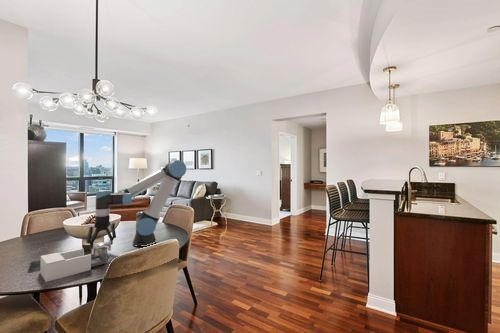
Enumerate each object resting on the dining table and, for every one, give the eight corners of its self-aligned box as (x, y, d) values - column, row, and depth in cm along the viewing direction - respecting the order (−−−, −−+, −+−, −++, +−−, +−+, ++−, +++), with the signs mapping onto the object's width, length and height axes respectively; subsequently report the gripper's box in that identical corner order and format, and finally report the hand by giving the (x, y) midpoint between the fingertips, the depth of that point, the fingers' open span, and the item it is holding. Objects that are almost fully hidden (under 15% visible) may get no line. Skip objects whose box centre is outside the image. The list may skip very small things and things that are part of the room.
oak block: (104, 252, 146) (104, 244, 146) (107, 254, 143) (107, 246, 143) (95, 255, 142) (95, 246, 142) (98, 257, 139) (98, 248, 139)
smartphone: (27, 272, 116) (30, 262, 128) (27, 274, 116) (30, 263, 128) (46, 268, 121) (48, 259, 133) (46, 270, 121) (48, 260, 133)
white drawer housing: (82, 262, 131) (83, 247, 131) (90, 269, 122) (91, 253, 122) (40, 272, 117) (40, 255, 117) (45, 282, 108) (46, 263, 108)
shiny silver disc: (106, 243, 148) (106, 241, 148) (111, 246, 143) (111, 243, 143) (91, 246, 142) (91, 244, 142) (96, 250, 137) (96, 247, 137)
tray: (100, 257, 137) (100, 248, 137) (107, 262, 129) (108, 253, 129) (64, 266, 123) (64, 256, 123) (70, 272, 116) (70, 262, 116)
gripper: (118, 212, 153) (117, 246, 153) (80, 216, 137) (78, 255, 137) (123, 213, 149) (122, 249, 148) (84, 218, 132) (82, 258, 132)
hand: (101, 252), depth 143 cm, fingers open, 8 cm apart
